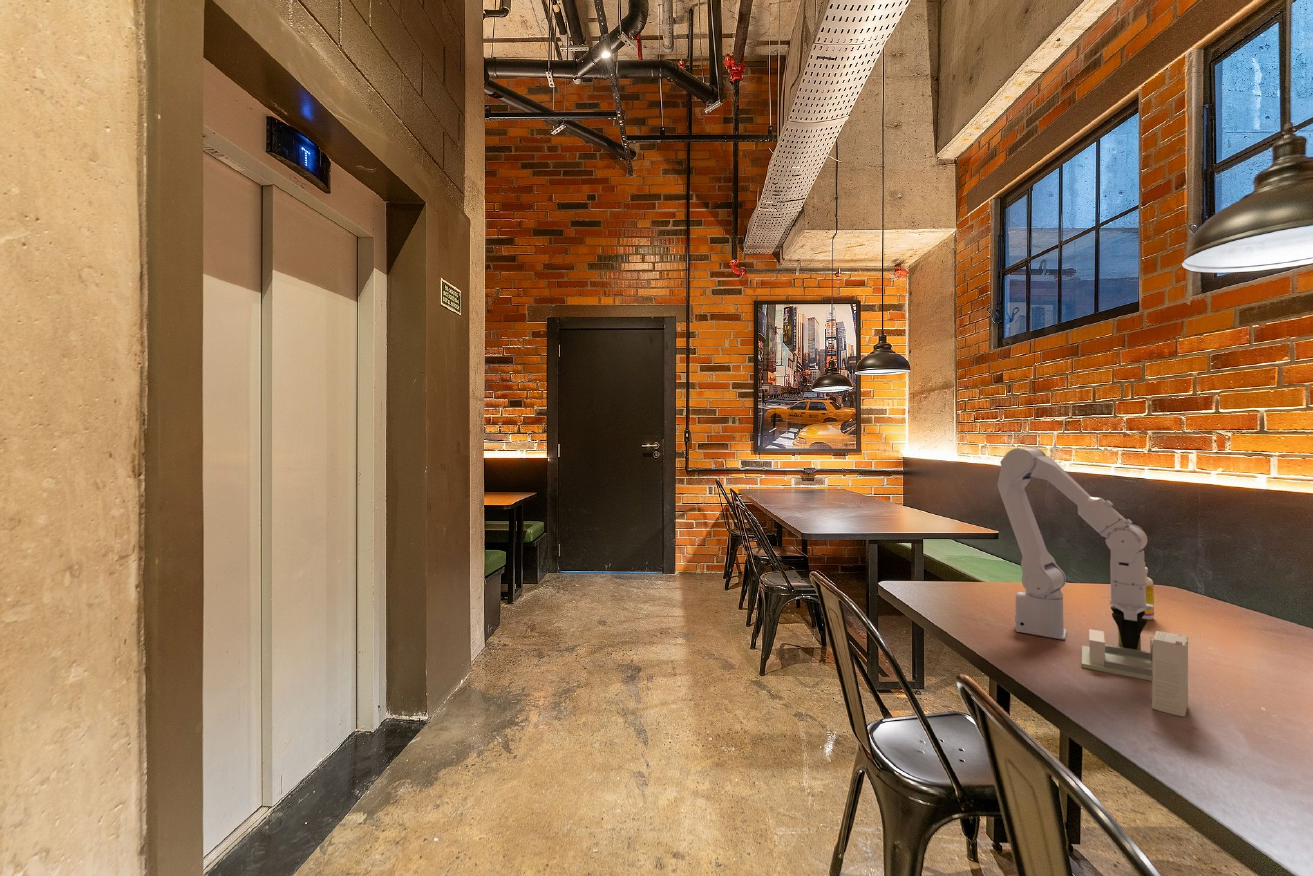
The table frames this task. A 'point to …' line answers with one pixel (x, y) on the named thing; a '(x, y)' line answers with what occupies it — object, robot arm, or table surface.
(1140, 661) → the vise
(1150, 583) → the supplement bottle
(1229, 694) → the table surface
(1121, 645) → the block
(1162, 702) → the skincare box
